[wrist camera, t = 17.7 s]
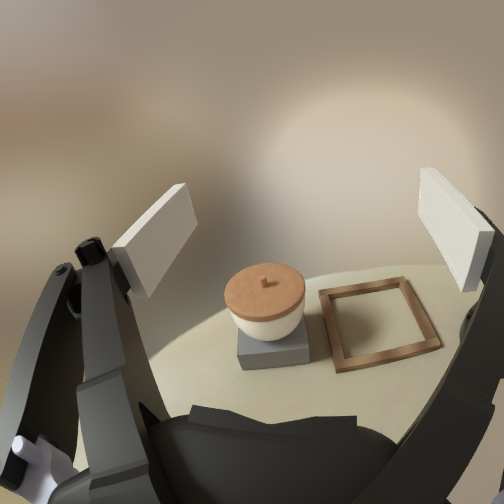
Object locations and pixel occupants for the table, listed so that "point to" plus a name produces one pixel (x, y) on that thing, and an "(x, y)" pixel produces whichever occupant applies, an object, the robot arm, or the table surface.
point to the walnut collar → (384, 356)
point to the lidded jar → (266, 300)
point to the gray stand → (274, 350)
